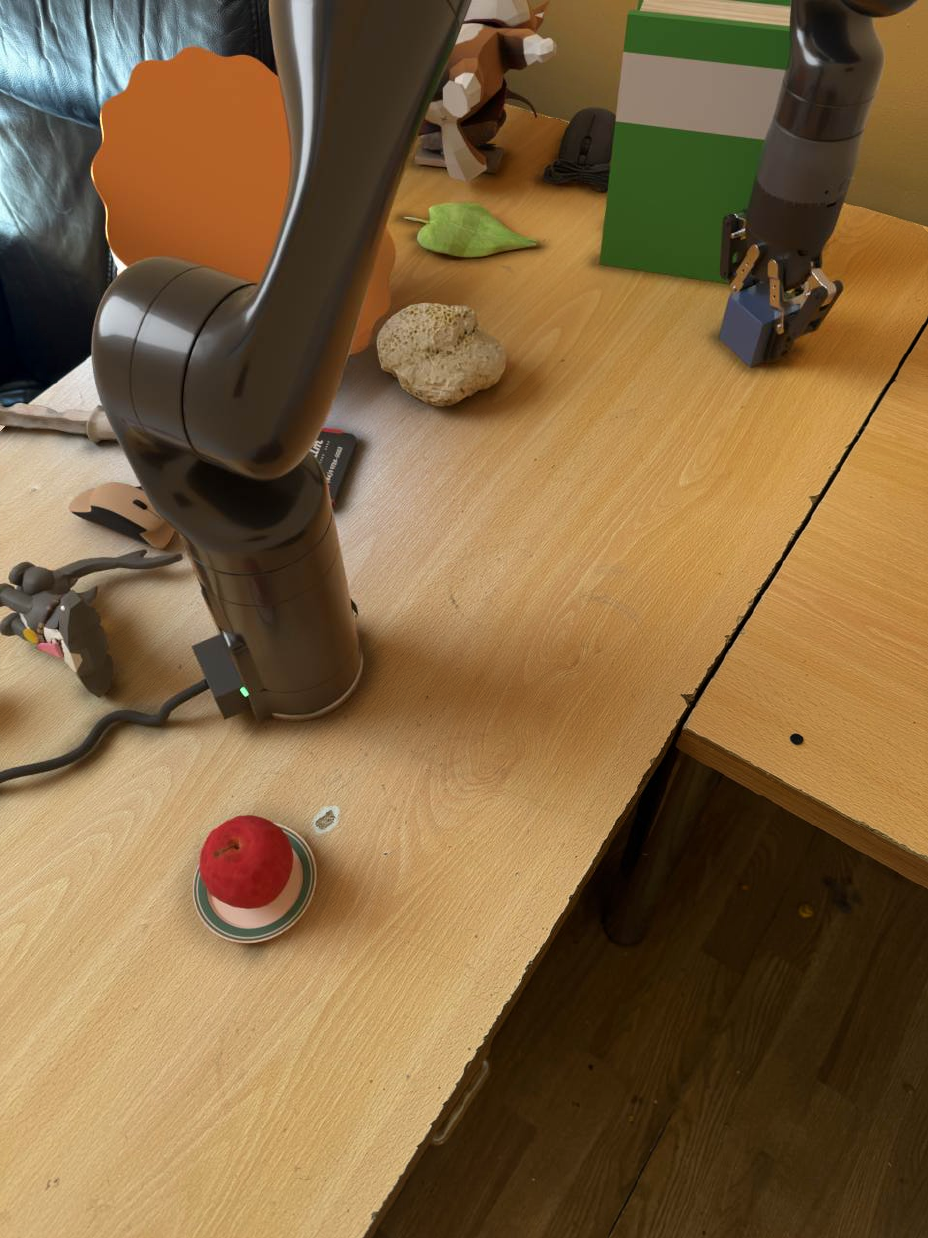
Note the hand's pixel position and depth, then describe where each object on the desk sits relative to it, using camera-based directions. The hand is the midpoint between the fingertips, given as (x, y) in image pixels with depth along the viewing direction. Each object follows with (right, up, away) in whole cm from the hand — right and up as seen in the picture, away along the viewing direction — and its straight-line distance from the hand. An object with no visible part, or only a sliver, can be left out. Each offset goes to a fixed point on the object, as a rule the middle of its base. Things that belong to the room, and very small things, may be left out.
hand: (754, 341), depth 91 cm
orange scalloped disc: (-46, +8, -10) cm, 47 cm away
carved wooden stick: (-59, -11, -5) cm, 61 cm away
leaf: (-28, +14, +11) cm, 34 cm away
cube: (0, 0, 0) cm, 0 cm away
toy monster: (-63, -27, -19) cm, 71 cm away
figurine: (-27, +27, +20) cm, 43 cm away
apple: (-42, -44, -30) cm, 68 cm away
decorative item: (-30, -4, -2) cm, 31 cm away
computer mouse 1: (-56, -18, -11) cm, 60 cm away
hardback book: (-4, +11, +9) cm, 15 cm away
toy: (-33, +23, +4) cm, 40 cm away
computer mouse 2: (-13, +28, +20) cm, 37 cm away
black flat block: (-38, -14, -9) cm, 42 cm away
